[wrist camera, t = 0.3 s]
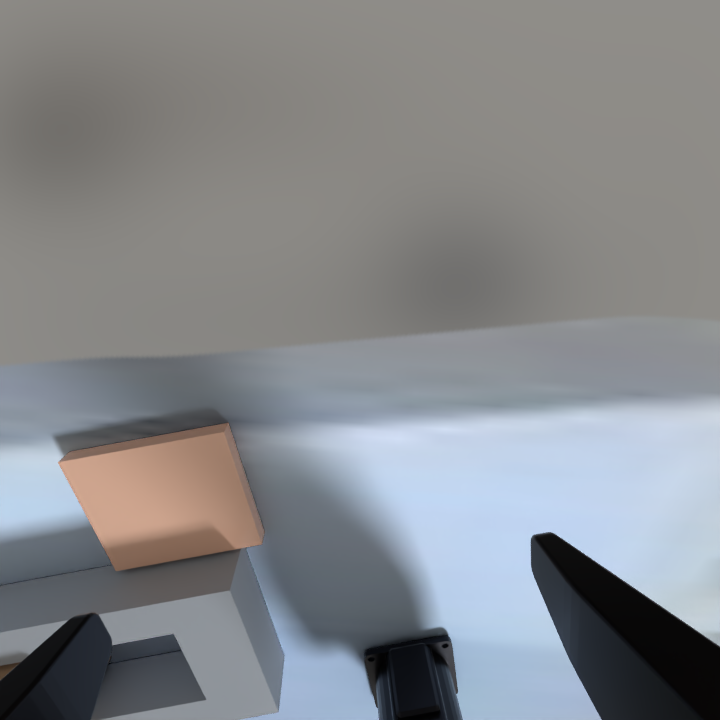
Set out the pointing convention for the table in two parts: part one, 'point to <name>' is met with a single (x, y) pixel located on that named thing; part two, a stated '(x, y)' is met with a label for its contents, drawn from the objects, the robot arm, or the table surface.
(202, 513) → the terracotta tile
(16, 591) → the pocket board
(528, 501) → the table surface
